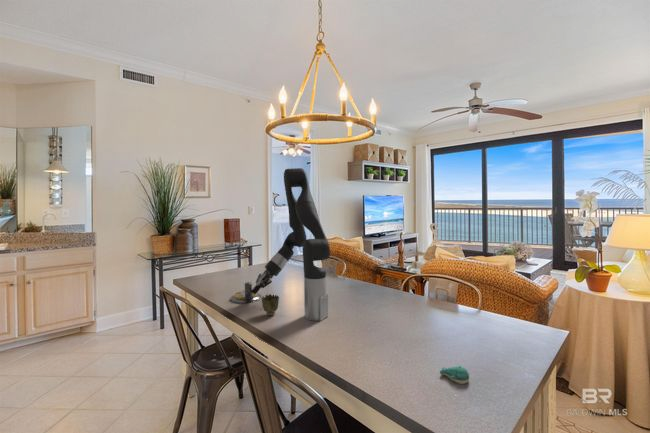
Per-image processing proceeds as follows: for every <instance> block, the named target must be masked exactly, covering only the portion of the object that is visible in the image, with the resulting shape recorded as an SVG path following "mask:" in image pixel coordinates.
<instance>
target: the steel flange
mask: <svg viewBox="0 0 650 433" xmlns="http://www.w3.org/2000/svg"><path fill="white" fill-rule="evenodd" d="M240 295H241V296H245V291H244V292H241V293H240ZM260 298H261V299H262V294H261V293H259V292H258V295H257V296H256V297H255V298H252V303H254V302H253V301H256V300H258V299H260ZM261 299H260V300H261ZM258 301H259V300H258ZM230 302H232V303H234V302H235V304H246V303H245V299H243V300H242V299H237V298H234V294H233V295H231V296H230ZM256 302H257V301H256Z"/></svg>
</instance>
